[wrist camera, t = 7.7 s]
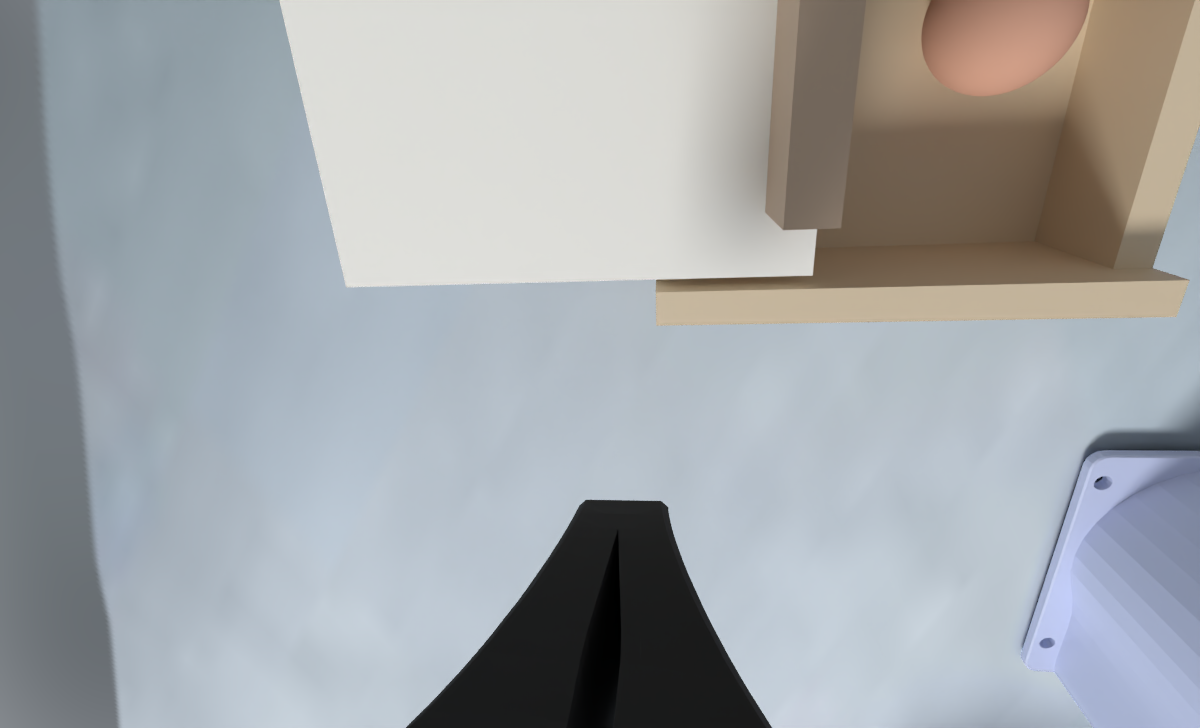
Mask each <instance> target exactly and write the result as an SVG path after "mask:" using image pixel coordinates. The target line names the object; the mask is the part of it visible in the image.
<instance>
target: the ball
mask: <svg viewBox="0 0 1200 728" xmlns="http://www.w3.org/2000/svg"><path fill="white" fill-rule="evenodd" d="M1089 3H1090V0H931V2H930V4H929V6H928V9H927V12H926V15H925V18H924V22H923V26H922V35H921V42H922V51H923V56H924V59H925V62H926V64H927V66H928V68H929V70H930V71H931V73H932V74H933V76H934V77H935V78H936V79H937V80H938V81H939V82H940V83H941V84H943V85H944V86H946V87H947V88H949V89H951V90H953V91H955V92H958V93H961V94H964V95H971V96H992V95H999V94H1003V93H1007V92H1010V91H1013V90H1016V89H1018V88H1020V87H1023V86H1025V85H1027V84H1029V83H1031V82H1033V81H1034V80H1036V79H1037V78H1039V77H1040V76H1042V75H1043V74H1044V73H1046V72H1047V71H1048V70H1049V69H1051V68H1052V67H1053V66H1054V65H1055V64H1056V63H1057V62H1058V61H1059V60H1060V59H1061V58H1062V57H1063V56H1064V55H1065V53H1066V52H1067V51H1068V50H1069V48H1070V47H1071V46H1072V44H1073V43H1074V41H1075V40H1076V38H1077V36H1078V35H1079V33H1080V31H1081V29H1082V27H1083V24H1084V22H1085V19H1086V16H1087V13H1088V9H1089Z"/></svg>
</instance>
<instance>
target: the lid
mask: <svg viewBox="0 0 1200 728" xmlns="http://www.w3.org/2000/svg"><path fill="white" fill-rule="evenodd" d="M280 5H281V9H282V13H283V18H284V22H285V26H286V30H287V35H288V39H289V43H290V48H291V52H292V56H293V61H294V65H295V69H296V73H297V78H298V82H299V86H300V91H301V95H302V99H303V103H304V108H305V112H306V116H307V121H308V125H309V129H310V134H311V138H312V142H313V146H314V151H315V155H316V159H317V164H318V168H319V172H320V176H321V181H322V185H323V189H324V194H325V198H326V202H327V207H328V211H329V215H330V219H331V224H332V228H333V232H334V237H335V241H336V245H337V250H338V254H339V258H340V262H341V267H342V271H343V275H344V280H345V284H346V287H381V286H420V285H460V284H500V283H539V282H579V281H618V280H658V279H697V278H737V277H776V276H813V267H814V256H815V246H816V235H817V229H836V228H841V223H842V214H843V205H844V196H845V187H846V178H847V169H848V160H849V151H850V142H851V133H852V124H853V115H854V106H855V97H856V88H857V79H858V70H859V61H860V52H861V43H862V34H863V25H864V16H865V7H866V0H280Z"/></svg>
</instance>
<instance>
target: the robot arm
mask: <svg viewBox="0 0 1200 728" xmlns="http://www.w3.org/2000/svg"><path fill="white" fill-rule="evenodd" d="M1100 477H1103V478H1102V479H1101V480H1100V481H1098V482H1095V481H1096V479H1098V478H1100ZM1021 659H1022V660H1023V662H1024V663H1025V665H1026V667H1027V668H1029V669H1030V670H1034V671H1046V672H1055V674H1056V675H1057V677H1058V678H1059V680H1060V681H1061V682H1062V684H1063V685H1064V687H1065V688H1066V690H1067V691H1068V692H1069V694H1070V695H1071V697H1072V698H1073V700H1074V701H1075V702H1076V704H1077V705H1078V707H1079V708H1080V710H1081V711H1082V712H1083V714H1084V715H1085V717H1086V718H1087V720H1088V721H1089V722H1090V724H1091V725H1092V727H1093V728H1200V451H1148V450H1103V451H1097V452H1095V453H1093V454H1091V455H1090V456H1088V457H1087V458H1086V460H1085V461H1084V463H1083V466H1082V469H1081V472H1080V475H1079V478H1078V481H1077V484H1076V487H1075V490H1074V493H1073V496H1072V499H1071V502H1070V505H1069V508H1068V511H1067V514H1066V517H1065V521H1064V524H1063V527H1062V530H1061V533H1060V536H1059V539H1058V542H1057V545H1056V548H1055V551H1054V554H1053V557H1052V560H1051V563H1050V566H1049V569H1048V572H1047V575H1046V579H1045V582H1044V585H1043V588H1042V591H1041V594H1040V597H1039V600H1038V603H1037V606H1036V609H1035V612H1034V615H1033V618H1032V621H1031V624H1030V627H1029V630H1028V633H1027V637H1026V640H1025V643H1024V646H1023V649H1022V652H1021ZM406 728H772V727H771V725H770V724H769V722H768V721H767V719H766V718H765V716H764V714H763V713H762V711H761V710H760V708H759V707H758V705H757V703H756V702H755V700H754V699H753V697H752V695H751V694H750V692H749V691H748V689H747V687H746V686H745V684H744V682H743V681H742V679H741V677H740V675H739V674H738V672H737V670H736V669H735V667H734V665H733V663H732V662H731V660H730V658H729V656H728V654H727V652H726V651H725V649H724V647H723V645H722V643H721V641H720V639H719V638H718V636H717V634H716V632H715V630H714V628H713V626H712V624H711V622H710V620H709V618H708V616H707V614H706V612H705V610H704V608H703V606H702V604H701V602H700V599H699V597H698V595H697V593H696V591H695V588H694V586H693V584H692V582H691V580H690V577H689V575H688V573H687V570H686V568H685V565H684V563H683V560H682V558H681V555H680V552H679V549H678V546H677V544H676V541H675V537H674V534H673V531H672V527H671V523H670V518H669V513H668V507H667V506H666V505H665V504H664V503H663V502H662V501H622V500H585V501H584V502H583V503H582V504H581V505H580V506H579V508H578V510H577V512H576V514H575V515H574V517H573V519H572V521H571V523H570V524H569V526H568V528H567V529H566V531H565V533H564V534H563V536H562V538H561V539H560V541H559V542H558V544H557V546H556V547H555V549H554V550H553V552H552V553H551V555H550V557H549V558H548V560H547V561H546V562H545V564H544V565H543V567H542V568H541V570H540V571H539V572H538V574H537V575H536V577H535V578H534V580H533V581H532V582H531V584H530V585H529V587H528V588H527V590H526V591H525V592H524V594H523V595H522V596H521V598H520V599H519V601H518V602H517V603H516V604H515V606H514V607H513V608H512V609H511V611H510V612H509V613H508V615H507V616H506V617H505V618H504V620H503V621H502V622H501V623H500V625H499V626H498V627H497V628H496V630H495V631H494V632H493V634H492V635H491V636H490V637H489V639H488V640H487V641H486V642H485V643H484V645H483V646H482V647H481V648H480V649H479V650H478V652H477V653H476V654H475V655H474V656H473V657H472V659H471V660H470V661H469V662H468V663H467V664H466V665H465V667H464V668H463V669H462V670H461V671H460V672H459V673H458V674H457V676H456V677H455V678H454V679H453V680H452V681H451V682H450V683H449V684H448V685H447V686H446V687H445V688H444V690H443V691H442V692H441V693H440V694H439V695H438V696H437V697H436V698H435V699H434V700H433V701H432V702H431V703H430V704H429V705H428V706H427V707H426V708H425V709H424V710H423V711H422V712H421V713H420V714H419V715H418V716H417V717H416V718H415V719H414V720H413V721H412V722H411V723H410V724H409V725H408V726H407V727H406Z"/></svg>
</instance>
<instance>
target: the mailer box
mask: <svg viewBox="0 0 1200 728" xmlns="http://www.w3.org/2000/svg"><path fill="white" fill-rule="evenodd" d="M930 2H931V0H866V7H865V16H864V25H863V34H862V43H861V52H860V61H859V70H858V79H857V88H856V97H855V106H854V115H853V124H852V133H851V142H850V151H849V160H848V169H847V178H846V187H845V196H844V205H843V214H842V223H841V228H836V229H817V235H816V246H815V256H814V267H813V276H776V277H737V278H697V279H658V280H656V326H657V325H717V324H777V323H837V322H897V321H956V320H1016V319H1076V318H1136V317H1176V316H1177V314H1178V311H1179V308H1180V305H1181V303H1182V300H1183V297H1184V294H1185V291H1186V289H1187V286H1188V283H1189V280H1187V279H1184V278H1181V277H1178V276H1175V275H1172V274H1169V273H1166V272H1163V271H1160V270H1157V269H1153V265H1154V261H1155V258H1156V255H1157V252H1158V249H1159V246H1160V243H1161V240H1162V237H1163V234H1164V231H1165V228H1166V225H1167V222H1168V219H1169V216H1170V213H1171V210H1172V207H1173V204H1174V201H1175V198H1176V195H1177V192H1178V189H1179V186H1180V183H1181V180H1182V177H1183V174H1184V171H1185V168H1186V165H1187V162H1188V159H1189V156H1190V153H1191V150H1192V147H1193V144H1194V141H1195V138H1196V135H1197V132H1198V129H1199V126H1200V0H1090V3H1089V9H1088V13H1087V16H1086V19H1085V22H1084V24H1083V27H1082V29H1081V31H1080V33H1079V35H1078V36H1077V38H1076V40H1075V41H1074V43H1073V44H1072V46H1071V47H1070V48H1069V50H1068V51H1067V52H1066V53H1065V55H1064V56H1063V57H1062V58H1061V59H1060V60H1059V61H1058V62H1057V63H1056V64H1055V65H1054V66H1053V67H1052V68H1051V69H1049V70H1048V71H1047V72H1046V73H1044V74H1043V75H1042V76H1040V77H1039V78H1037V79H1036V80H1034V81H1033V82H1031V83H1029V84H1027V85H1025V86H1023V87H1020V88H1018V89H1016V90H1013V91H1010V92H1007V93H1003V94H999V95H992V96H971V95H964V94H961V93H958V92H955V91H953V90H951V89H949V88H947V87H946V86H944V85H943V84H941V83H940V82H939V81H938V80H937V79H936V78H935V77H934V76H933V74H932V73H931V71H930V70H929V68H928V66H927V64H926V62H925V59H924V56H923V51H922V42H921V35H922V26H923V22H924V18H925V15H926V12H927V9H928V6H929V4H930Z"/></svg>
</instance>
